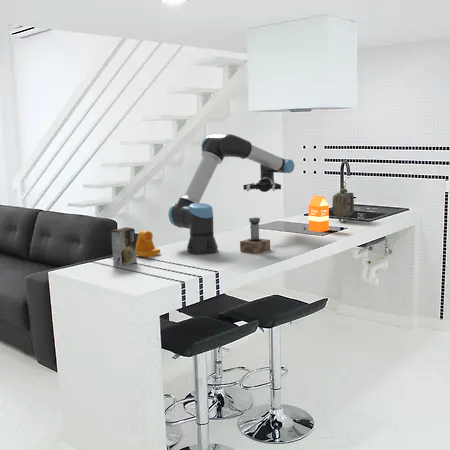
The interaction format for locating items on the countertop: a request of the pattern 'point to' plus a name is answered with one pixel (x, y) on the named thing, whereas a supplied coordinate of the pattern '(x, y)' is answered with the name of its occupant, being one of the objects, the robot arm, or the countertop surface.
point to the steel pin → (254, 229)
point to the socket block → (255, 246)
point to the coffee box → (123, 246)
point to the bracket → (145, 245)
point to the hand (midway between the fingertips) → (260, 188)
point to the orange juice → (318, 214)
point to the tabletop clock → (343, 203)
